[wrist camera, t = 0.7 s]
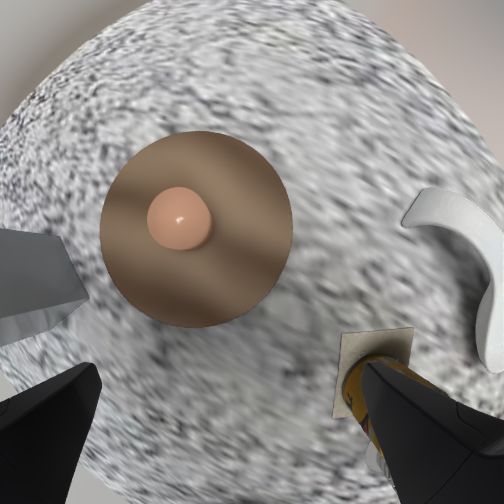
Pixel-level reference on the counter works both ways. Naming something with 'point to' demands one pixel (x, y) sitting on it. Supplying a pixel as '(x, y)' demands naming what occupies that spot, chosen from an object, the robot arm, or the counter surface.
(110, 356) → the counter surface
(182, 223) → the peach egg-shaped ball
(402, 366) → the condiment
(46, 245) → the grey tall block
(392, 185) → the counter surface
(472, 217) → the white curved piece
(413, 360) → the counter surface
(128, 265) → the plate
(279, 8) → the counter surface
